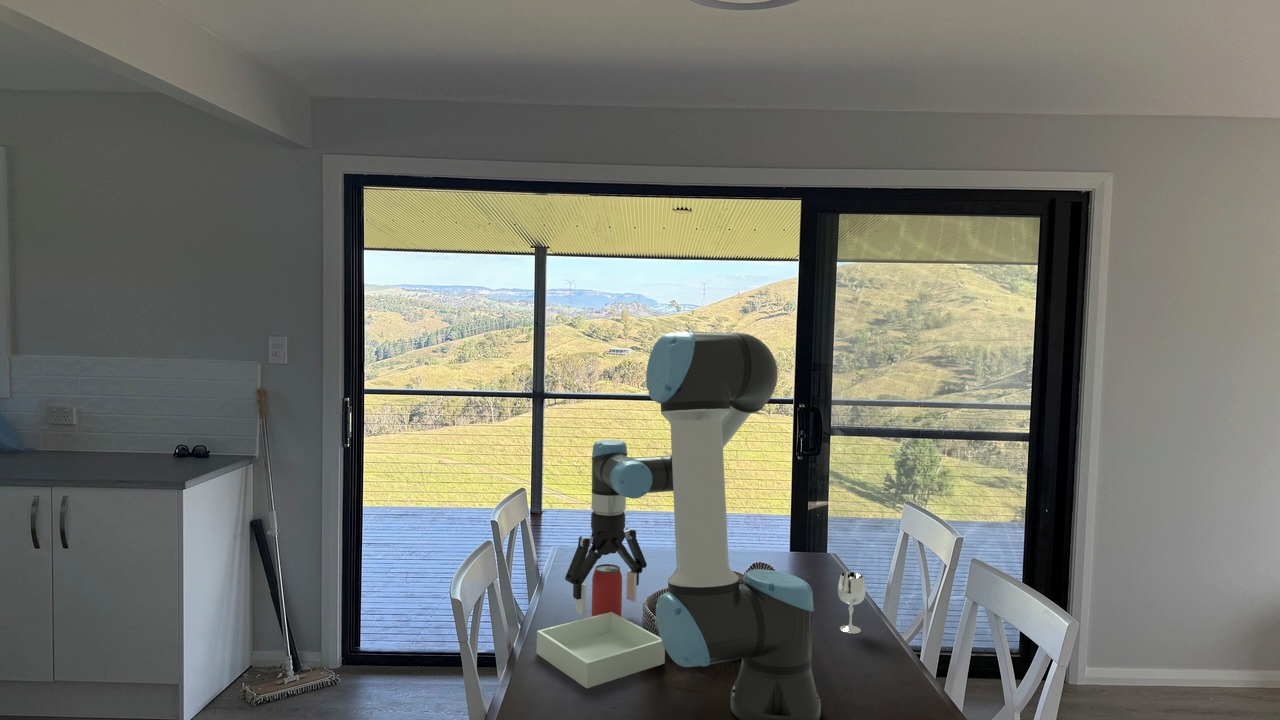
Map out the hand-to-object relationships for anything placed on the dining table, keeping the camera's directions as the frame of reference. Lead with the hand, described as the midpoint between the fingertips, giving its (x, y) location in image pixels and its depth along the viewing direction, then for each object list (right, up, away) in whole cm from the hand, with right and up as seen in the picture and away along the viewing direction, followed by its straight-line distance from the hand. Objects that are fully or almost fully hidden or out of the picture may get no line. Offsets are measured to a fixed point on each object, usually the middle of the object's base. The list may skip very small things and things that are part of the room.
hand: (606, 606), depth 170 cm
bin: (0, -4, -19) cm, 20 cm away
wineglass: (+53, -5, -2) cm, 53 cm away
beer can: (0, -4, 0) cm, 4 cm away
